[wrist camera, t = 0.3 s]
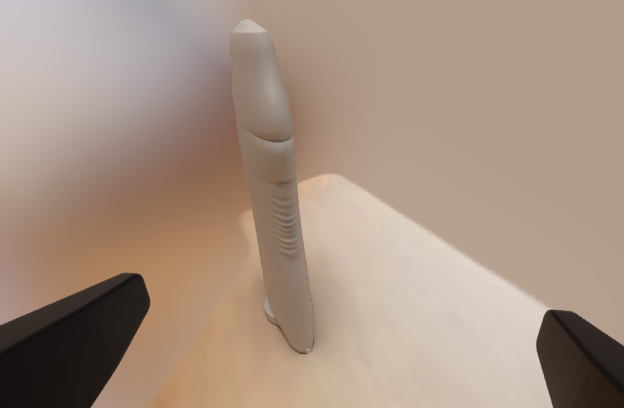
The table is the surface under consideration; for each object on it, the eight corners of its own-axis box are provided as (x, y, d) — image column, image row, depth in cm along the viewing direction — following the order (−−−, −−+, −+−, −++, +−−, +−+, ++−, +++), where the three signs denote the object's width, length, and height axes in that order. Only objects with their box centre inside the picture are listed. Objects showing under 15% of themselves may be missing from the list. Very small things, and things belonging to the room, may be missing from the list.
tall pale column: (254, 276, 33) (202, 22, 22) (293, 265, 34) (262, 17, 23) (281, 368, 24) (217, 22, 13) (334, 349, 25) (314, 14, 15)
